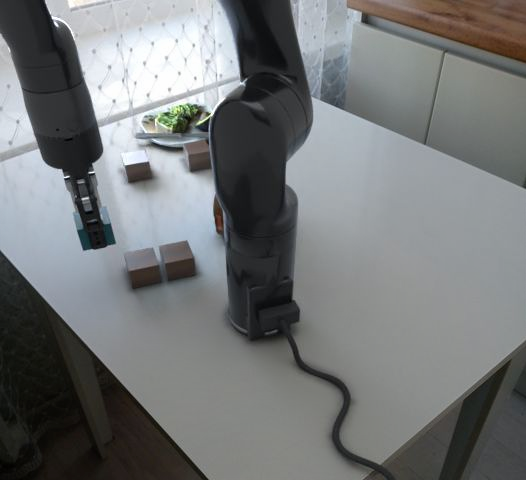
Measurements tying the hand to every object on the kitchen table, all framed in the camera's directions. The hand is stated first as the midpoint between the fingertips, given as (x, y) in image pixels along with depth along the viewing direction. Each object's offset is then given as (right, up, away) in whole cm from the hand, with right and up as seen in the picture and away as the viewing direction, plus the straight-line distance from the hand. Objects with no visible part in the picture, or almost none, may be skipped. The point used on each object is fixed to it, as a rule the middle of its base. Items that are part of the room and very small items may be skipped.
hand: (96, 236), depth 79 cm
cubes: (+5, +19, +29) cm, 35 cm away
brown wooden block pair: (+8, -4, +9) cm, 12 cm away
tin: (+18, +7, +19) cm, 27 cm away
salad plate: (+7, +31, +40) cm, 51 cm away
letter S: (0, 0, 0) cm, 0 cm away
